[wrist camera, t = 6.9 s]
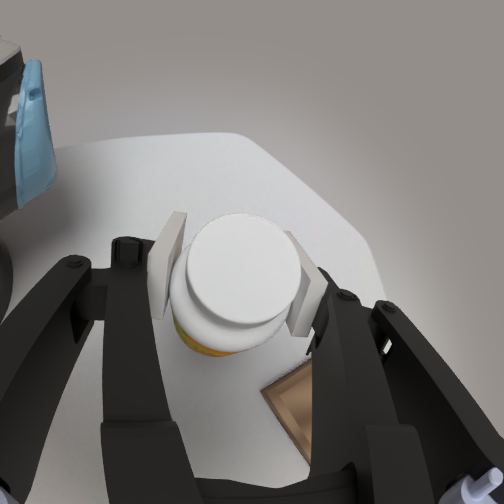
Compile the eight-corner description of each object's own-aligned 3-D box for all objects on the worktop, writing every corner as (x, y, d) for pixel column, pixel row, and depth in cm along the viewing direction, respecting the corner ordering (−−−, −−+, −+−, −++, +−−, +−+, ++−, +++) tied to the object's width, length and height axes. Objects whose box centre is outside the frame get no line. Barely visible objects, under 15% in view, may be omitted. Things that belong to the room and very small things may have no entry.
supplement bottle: (156, 312, 17) (131, 255, 9) (216, 261, 20) (245, 173, 11) (214, 374, 17) (247, 382, 8) (271, 318, 19) (346, 270, 10)
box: (260, 391, 29) (266, 392, 26) (345, 332, 34) (356, 329, 31) (313, 471, 26) (323, 477, 23) (388, 409, 31) (400, 409, 28)
